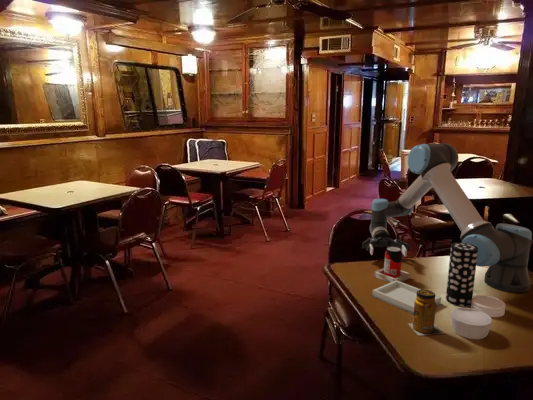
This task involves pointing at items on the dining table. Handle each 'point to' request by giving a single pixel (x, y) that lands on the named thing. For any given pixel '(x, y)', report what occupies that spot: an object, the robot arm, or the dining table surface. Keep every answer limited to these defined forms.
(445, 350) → the dining table surface
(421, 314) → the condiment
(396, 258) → the beverage can
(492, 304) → the shallow round dish
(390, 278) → the collar
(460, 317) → the ramekin
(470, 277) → the spotted tube
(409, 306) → the tray
